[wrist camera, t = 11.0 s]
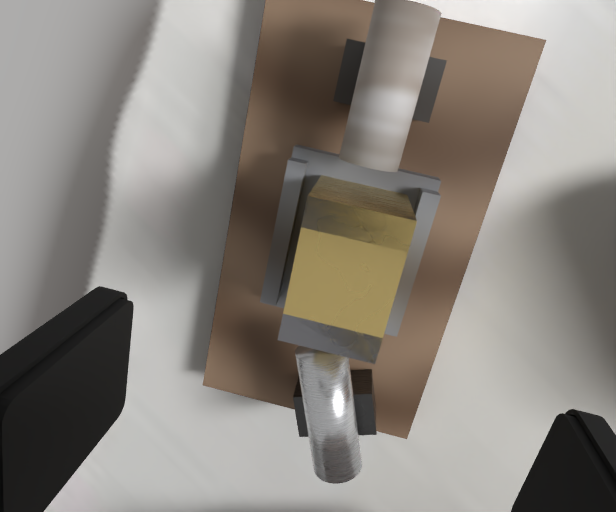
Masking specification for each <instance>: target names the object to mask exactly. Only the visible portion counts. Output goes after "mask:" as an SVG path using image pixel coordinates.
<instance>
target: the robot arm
mask: <svg viewBox="0 0 616 512" xmlns="http://www.w3.org/2000/svg"><path fill="white" fill-rule="evenodd" d="M132 319H133V302H132V301H129V300H127V295H126V294H125V293H124V292H120V291H116V290H112V289H108V288H105V287H100V286H99V287H97V288H95V289H94V290H92V291H91V292H89V293H88V294H86V295H85V296H84V297H82V298H81V299H79V300H78V301H76V302H75V303H74V304H72V305H71V306H69V307H68V308H67V309H65V310H64V311H62V312H61V313H59V314H58V315H56V316H55V317H54V318H52V319H51V320H49V321H48V322H46V323H45V324H44V325H42V326H41V327H39V328H38V329H36V330H35V331H34V332H32V333H31V334H29V335H28V336H27V337H25V338H24V339H22V340H21V341H19V342H18V343H17V344H15V345H14V346H12V347H11V348H10V349H8V350H7V351H5V352H4V353H2V354H1V355H0V512H44V510H45V509H46V508H47V506H48V505H49V504H50V503H51V501H52V500H53V499H54V498H55V496H56V495H57V494H58V493H59V491H60V490H61V489H62V488H63V486H64V485H65V484H66V483H67V481H68V480H69V479H70V478H71V476H72V475H73V474H74V473H75V471H76V470H77V469H78V467H79V466H80V465H81V464H82V462H83V461H84V460H85V459H86V457H87V456H88V455H89V454H90V452H91V451H92V450H93V449H94V447H95V446H96V445H97V444H98V442H99V441H100V440H101V439H102V437H103V436H104V435H105V433H106V432H107V431H108V430H109V428H110V427H111V426H112V425H113V423H114V422H115V421H116V420H117V418H118V417H119V415H120V414H121V412H122V409H123V407H124V403H125V397H126V386H127V374H128V363H129V352H130V341H131V330H132ZM511 512H616V435H615V434H614V432H613V431H612V429H611V428H610V426H609V425H608V423H607V422H606V421H605V419H604V418H603V417H601V416H598V415H594V414H590V413H586V412H582V411H578V410H574V409H571V410H568V411H567V412H566V413H565V414H559V415H558V416H557V417H556V418H555V420H554V422H553V424H552V426H551V428H550V431H549V433H548V435H547V437H546V439H545V441H544V443H543V445H542V447H541V449H540V451H539V453H538V455H537V457H536V459H535V461H534V463H533V465H532V468H531V470H530V472H529V474H528V476H527V478H526V480H525V482H524V484H523V486H522V488H521V490H520V492H519V494H518V496H517V498H516V500H515V502H514V504H513V507H512V510H511Z"/></svg>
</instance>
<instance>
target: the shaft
mask: <svg viewBox="0 0 616 512" xmlns="http://www.w3.org/2000/svg"><path fill="white" fill-rule="evenodd" d="M295 355H296V361H297V367H298V374H299V376H298V380H297V384H296V388H295V391H294V395H293V401H294V407H295V413H296V419H297V425H298V431H299V436H300V437H308V436H309V442H310V448H311V454H312V460H313V466H314V471H315V474H316V475H317V477H318V478H320V479H321V480H323V481H325V482H328V483H343V482H347V481H349V480H351V479H353V478H354V477H355V476H357V475H358V473H359V472H360V470H361V467H362V461H361V453H360V445H359V436H358V435H376V402H375V393H374V384H373V374H372V369H364V370H350V364H349V358H348V357H344V356H340V355H336V354H332V353H328V352H324V351H320V350H316V349H312V348H308V347H304V346H300V345H299V346H298V347H297V348H296V350H295Z"/></svg>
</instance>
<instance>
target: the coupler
mask: <svg viewBox="0 0 616 512" xmlns="http://www.w3.org/2000/svg"><path fill="white" fill-rule="evenodd" d="M416 223H417V220H416V217H415V214H414V212H413V209H412V206H411V203H410V201H409V198H408V195H406V194H402V193H398V192H393V191H389V190H385V189H380V188H376V187H371V186H367V185H363V184H358V183H354V182H350V181H345V180H341V179H337V178H332V177H328V176H323V175H321V177H320V178H319V180H318V181H317V183H316V184H315V186H314V187H313V189H312V190H311V192H310V193H309V195H308V197H307V201H306V206H305V211H304V216H303V221H302V225H301V230H300V235H299V240H298V244H297V249H296V254H295V259H294V264H293V268H292V273H291V278H290V283H289V287H288V292H287V297H286V302H285V307H284V311H283V316H282V321H281V326H280V330H279V335H278V340H280V341H284V342H288V343H292V344H296V345H300V346H304V347H308V348H312V349H316V350H320V351H324V352H328V353H332V354H336V355H340V356H344V357H348V358H352V359H356V360H360V361H364V362H368V363H372V364H375V363H376V360H377V356H378V353H379V349H380V346H381V343H382V339H383V336H384V332H385V329H386V326H387V322H388V319H389V315H390V312H391V308H392V305H393V302H394V298H395V295H396V291H397V288H398V285H399V281H400V278H401V274H402V271H403V268H404V264H405V261H406V257H407V254H408V250H409V247H410V244H411V240H412V237H413V233H414V230H415V227H416Z"/></svg>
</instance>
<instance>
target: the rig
mask: <svg viewBox="0 0 616 512" xmlns="http://www.w3.org/2000/svg"><path fill="white" fill-rule="evenodd" d="M545 42H546V40H543V39H539V38H534V37H529V36H525V35H520V34H515V33H511V32H506V31H502V30H497V29H492V28H488V27H483V26H478V25H474V24H469V23H465V22H460V21H455V20H451V19H446V18H441V12H440V11H438V10H437V9H435V8H432V7H430V6H427V5H424V4H421V3H417V2H413V1H408V0H375V3H372V2H367V1H363V0H266V1H265V7H264V14H263V20H262V26H261V32H260V38H259V44H258V50H257V56H256V62H255V69H254V75H253V81H252V87H251V93H250V99H249V105H248V111H247V117H246V124H245V130H244V136H243V142H242V148H241V154H240V160H239V166H238V172H237V179H236V185H235V191H234V197H233V203H232V209H231V215H230V221H229V227H228V234H227V240H226V246H225V252H224V258H223V264H222V270H221V276H220V282H219V289H218V295H217V301H216V307H215V313H214V319H213V325H212V331H211V337H210V344H209V350H208V356H207V362H206V368H205V374H204V380H203V385H204V386H208V387H212V388H215V389H219V390H223V391H227V392H231V393H234V394H238V395H242V396H246V397H250V398H253V399H257V400H261V401H265V402H268V403H272V404H276V405H280V406H284V407H287V408H291V409H295V407H294V401H293V395H294V391H295V388H296V384H297V380H298V376H299V374H298V367H297V361H296V355H295V350H296V348H297V347H298V346H299V345H296V344H292V343H288V342H284V341H280V340H278V335H279V330H280V326H281V321H282V316H283V311H284V307H285V302H286V297H287V292H288V287H289V283H290V278H291V273H292V268H293V264H294V259H295V254H296V249H297V244H298V240H299V235H300V230H301V225H302V221H303V216H304V211H305V206H306V201H307V197H308V195H309V193H310V192H311V190H312V189H313V187H314V186H315V184H316V183H317V181H318V180H319V178H320V177H321V175H323V176H328V177H332V178H337V179H341V180H345V181H350V182H354V183H358V184H363V185H367V186H371V187H376V188H380V189H385V190H389V191H393V192H398V193H402V194H406V195H408V198H409V201H410V203H411V206H412V209H413V212H414V214H415V217H416V220H417V223H416V227H415V230H414V233H413V237H412V240H411V244H410V247H409V250H408V254H407V257H406V261H405V264H404V268H403V271H402V274H401V278H400V281H399V285H398V288H397V291H396V295H395V298H394V302H393V305H392V308H391V312H390V315H389V319H388V322H387V326H386V329H385V332H384V336H383V339H382V343H381V346H380V349H379V353H378V356H377V360H376V363H375V364H372V363H368V362H364V361H360V360H356V359H352V358H349V364H350V370H364V369H372V374H373V384H374V393H375V402H376V431H378V432H382V433H386V434H390V435H394V436H397V437H401V438H405V439H407V437H408V434H409V431H410V428H411V425H412V423H413V420H414V417H415V414H416V411H417V408H418V405H419V403H420V400H421V397H422V394H423V391H424V388H425V385H426V383H427V380H428V377H429V374H430V371H431V368H432V365H433V363H434V360H435V357H436V354H437V351H438V348H439V345H440V342H441V340H442V337H443V334H444V331H445V328H446V325H447V322H448V320H449V317H450V314H451V311H452V308H453V305H454V302H455V300H456V297H457V294H458V291H459V288H460V285H461V282H462V280H463V277H464V274H465V271H466V268H467V265H468V262H469V260H470V257H471V254H472V251H473V248H474V245H475V242H476V240H477V237H478V234H479V231H480V228H481V225H482V222H483V219H484V217H485V214H486V211H487V208H488V205H489V202H490V199H491V197H492V194H493V191H494V188H495V185H496V182H497V179H498V177H499V174H500V171H501V168H502V165H503V162H504V159H505V157H506V154H507V151H508V148H509V145H510V142H511V139H512V137H513V134H514V131H515V128H516V125H517V122H518V119H519V116H520V114H521V111H522V108H523V105H524V102H525V99H526V96H527V94H528V91H529V88H530V85H531V82H532V79H533V76H534V74H535V71H536V68H537V65H538V62H539V59H540V56H541V54H542V51H543V48H544V45H545Z"/></svg>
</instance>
